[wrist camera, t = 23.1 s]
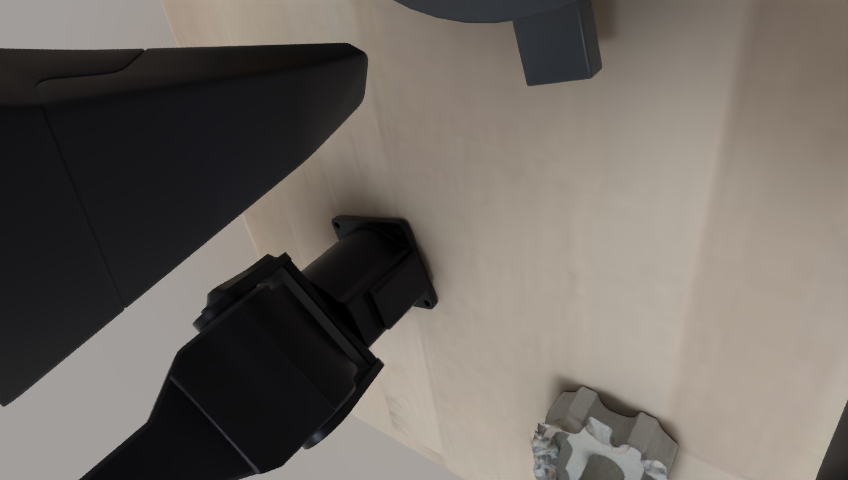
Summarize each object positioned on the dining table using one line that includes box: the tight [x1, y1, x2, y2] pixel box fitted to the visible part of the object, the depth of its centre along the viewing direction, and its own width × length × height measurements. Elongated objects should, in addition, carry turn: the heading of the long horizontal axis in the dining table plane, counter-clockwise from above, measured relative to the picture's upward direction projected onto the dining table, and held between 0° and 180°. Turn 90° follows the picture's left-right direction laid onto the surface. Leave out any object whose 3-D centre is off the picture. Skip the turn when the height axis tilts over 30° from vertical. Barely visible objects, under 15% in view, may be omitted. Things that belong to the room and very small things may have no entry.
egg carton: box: [532, 387, 678, 480], centre depth 32 cm, size 11×8×4 cm
